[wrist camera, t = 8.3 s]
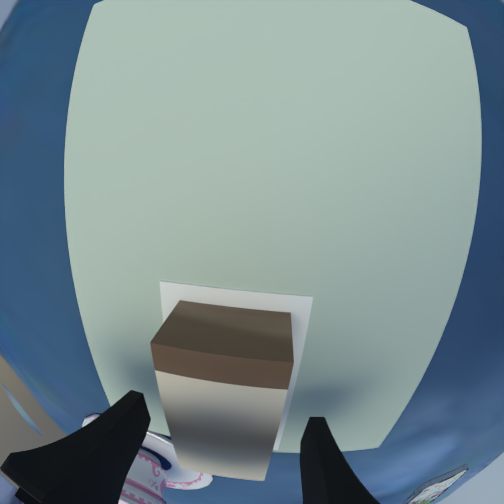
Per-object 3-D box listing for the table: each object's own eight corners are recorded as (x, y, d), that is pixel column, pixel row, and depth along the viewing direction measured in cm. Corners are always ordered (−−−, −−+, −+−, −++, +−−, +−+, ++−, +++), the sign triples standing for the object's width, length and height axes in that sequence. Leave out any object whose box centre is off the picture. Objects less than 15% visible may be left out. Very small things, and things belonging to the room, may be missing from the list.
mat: (462, 29, 6) (467, 26, 5) (377, 443, 13) (378, 448, 13) (97, 7, 7) (92, 3, 7) (119, 416, 15) (116, 421, 14)
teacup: (62, 400, 16) (27, 446, 10) (184, 423, 14) (156, 501, 8) (124, 471, 19) (106, 511, 13) (229, 490, 17) (220, 541, 12)
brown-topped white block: (266, 439, 13) (263, 480, 10) (192, 429, 13) (180, 468, 10) (290, 312, 10) (294, 362, 7) (179, 300, 11) (149, 342, 8)
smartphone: (391, 516, 20) (422, 488, 16) (390, 511, 21) (420, 481, 17) (431, 502, 19) (471, 466, 15) (430, 497, 21) (469, 460, 16)
